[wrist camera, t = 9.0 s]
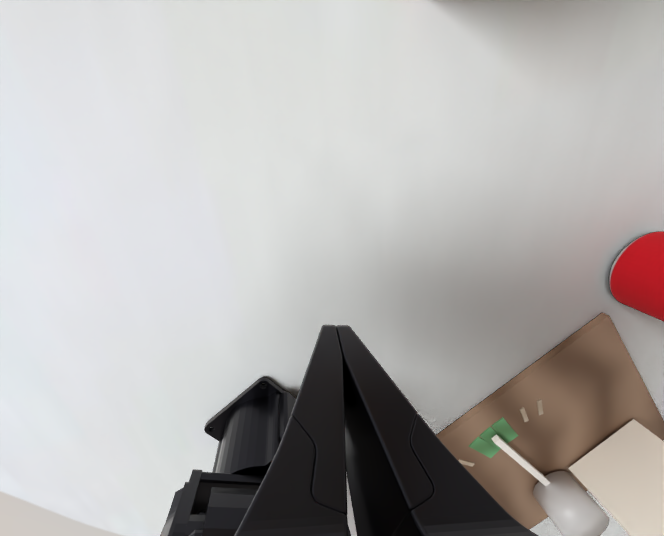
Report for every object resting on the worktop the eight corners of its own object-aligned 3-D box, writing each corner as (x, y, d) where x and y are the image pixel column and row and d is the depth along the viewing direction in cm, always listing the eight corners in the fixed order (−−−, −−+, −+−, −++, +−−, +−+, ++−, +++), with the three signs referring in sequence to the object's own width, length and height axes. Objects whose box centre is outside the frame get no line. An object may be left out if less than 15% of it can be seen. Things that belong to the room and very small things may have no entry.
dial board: (484, 551, 36) (488, 558, 36) (385, 472, 29) (387, 480, 29) (664, 430, 34) (672, 435, 33) (602, 312, 27) (610, 316, 26)
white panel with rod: (545, 506, 34) (668, 670, 23) (474, 449, 29) (587, 623, 18) (644, 433, 32) (828, 573, 21) (586, 358, 27) (786, 492, 16)
